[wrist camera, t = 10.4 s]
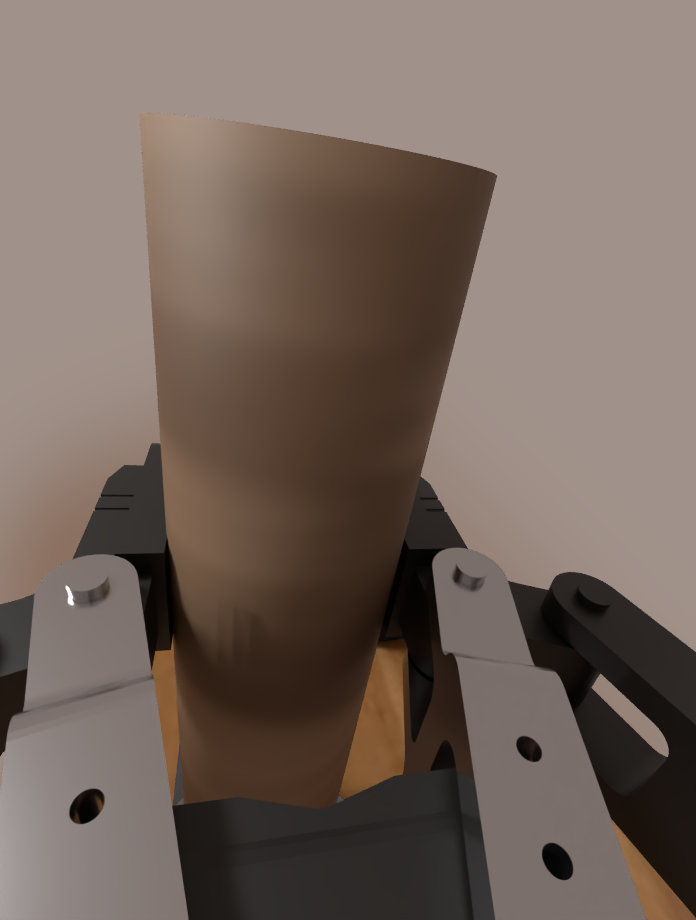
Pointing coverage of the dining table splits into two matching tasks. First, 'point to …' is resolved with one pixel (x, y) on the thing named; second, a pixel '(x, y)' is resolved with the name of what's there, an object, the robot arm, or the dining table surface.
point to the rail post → (292, 424)
